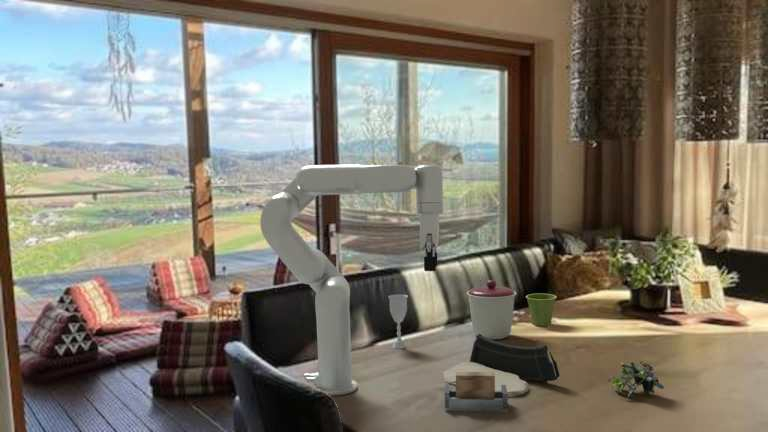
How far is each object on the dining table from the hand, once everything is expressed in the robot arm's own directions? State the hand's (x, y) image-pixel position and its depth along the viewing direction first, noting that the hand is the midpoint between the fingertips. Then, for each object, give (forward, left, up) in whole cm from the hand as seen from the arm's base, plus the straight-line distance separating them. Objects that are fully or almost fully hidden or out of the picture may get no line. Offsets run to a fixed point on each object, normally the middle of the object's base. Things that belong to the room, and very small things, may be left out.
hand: (430, 268), depth 188 cm
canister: (+19, +56, -34) cm, 68 cm away
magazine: (+23, +11, -35) cm, 43 cm away
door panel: (+12, -16, -34) cm, 39 cm away
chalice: (-14, +41, -34) cm, 55 cm away
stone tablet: (+14, +4, -35) cm, 38 cm away
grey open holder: (+12, -16, -34) cm, 40 cm away
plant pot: (+39, +75, -34) cm, 91 cm away
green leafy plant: (+55, -5, -35) cm, 65 cm away
